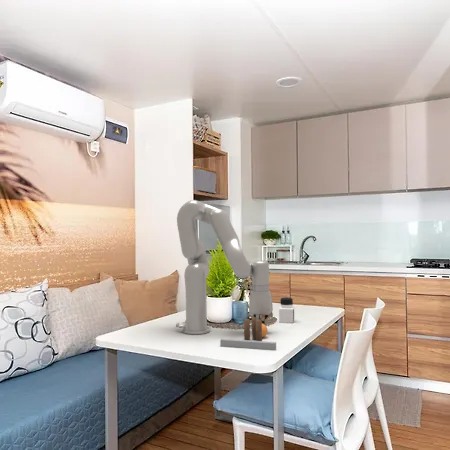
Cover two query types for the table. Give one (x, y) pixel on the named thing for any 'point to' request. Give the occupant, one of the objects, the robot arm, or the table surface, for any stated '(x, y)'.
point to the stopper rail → (248, 344)
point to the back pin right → (258, 330)
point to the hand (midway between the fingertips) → (261, 329)
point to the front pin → (254, 328)
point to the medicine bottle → (286, 310)
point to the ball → (264, 330)
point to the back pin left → (246, 329)
